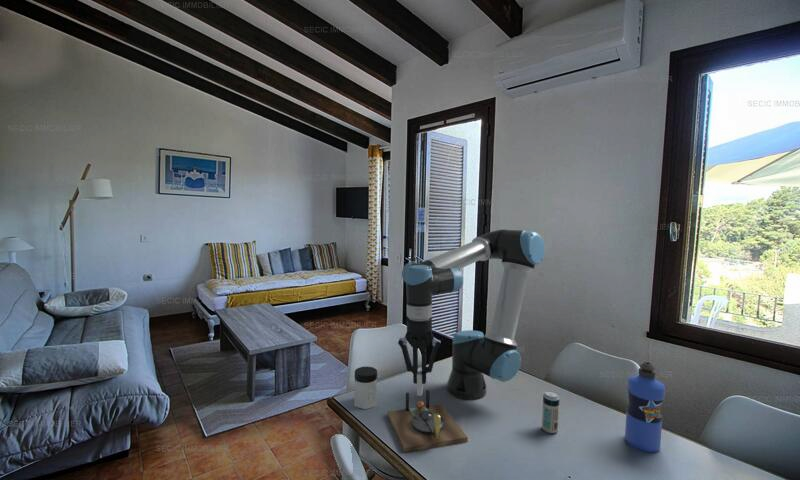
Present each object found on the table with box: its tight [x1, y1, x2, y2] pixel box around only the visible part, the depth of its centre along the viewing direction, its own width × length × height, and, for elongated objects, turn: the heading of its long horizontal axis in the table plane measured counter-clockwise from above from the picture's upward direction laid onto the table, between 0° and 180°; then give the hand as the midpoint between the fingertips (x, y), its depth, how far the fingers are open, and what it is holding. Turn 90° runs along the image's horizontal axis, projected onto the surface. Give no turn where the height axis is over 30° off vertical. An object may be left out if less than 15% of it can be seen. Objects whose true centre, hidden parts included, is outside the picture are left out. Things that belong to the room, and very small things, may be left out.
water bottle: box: [624, 361, 666, 454], centre depth 112 cm, size 9×9×25 cm
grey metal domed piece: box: [412, 400, 444, 438], centre depth 117 cm, size 19×10×8 cm, turn 13°
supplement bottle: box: [541, 390, 561, 434], centre depth 118 cm, size 5×5×12 cm
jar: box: [353, 366, 378, 410], centre depth 133 cm, size 9×8×12 cm
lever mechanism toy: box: [386, 389, 469, 454], centre depth 118 cm, size 20×20×8 cm
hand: (419, 393), depth 112 cm, fingers closed
